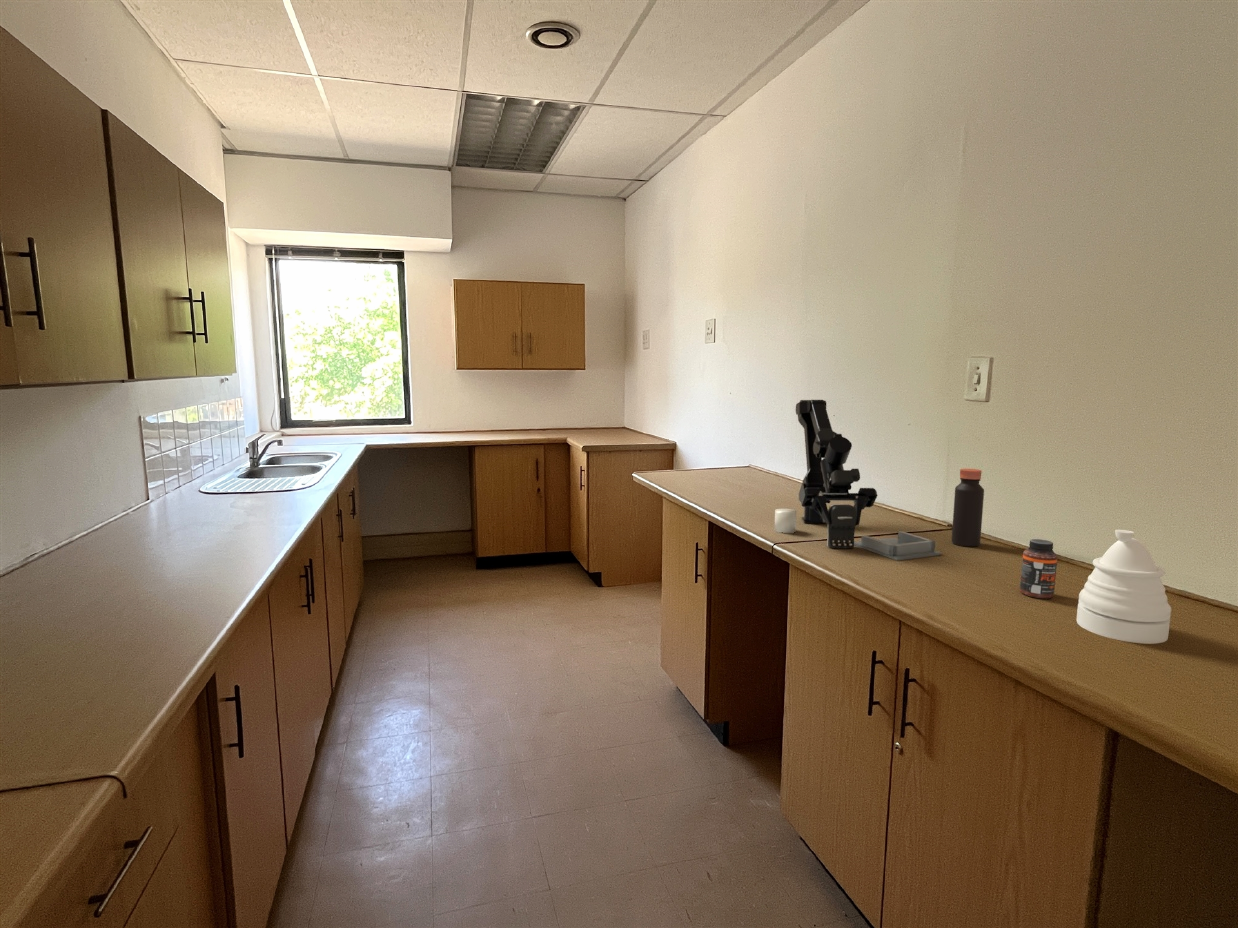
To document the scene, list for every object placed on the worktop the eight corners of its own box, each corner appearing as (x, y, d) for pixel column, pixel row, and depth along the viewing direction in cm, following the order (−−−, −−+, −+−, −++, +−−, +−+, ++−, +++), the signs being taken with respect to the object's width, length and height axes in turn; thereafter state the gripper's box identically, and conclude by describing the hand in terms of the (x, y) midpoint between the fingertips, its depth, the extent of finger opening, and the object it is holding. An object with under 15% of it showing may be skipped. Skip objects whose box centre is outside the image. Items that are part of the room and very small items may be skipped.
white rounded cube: (773, 528, 189) (774, 508, 188) (794, 528, 188) (794, 508, 187) (775, 533, 183) (776, 512, 182) (797, 533, 182) (797, 513, 181)
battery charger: (829, 549, 165) (831, 506, 163) (825, 545, 169) (827, 503, 167) (857, 549, 165) (859, 506, 163) (852, 545, 169) (854, 503, 167)
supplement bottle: (1043, 601, 127) (1048, 546, 125) (1013, 592, 132) (1017, 539, 131) (1060, 596, 130) (1065, 542, 128) (1030, 588, 135) (1034, 536, 133)
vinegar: (982, 548, 166) (988, 472, 163) (953, 546, 168) (958, 471, 165) (977, 541, 172) (982, 468, 169) (949, 539, 174) (954, 467, 171)
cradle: (852, 544, 170) (852, 533, 170) (893, 539, 175) (894, 528, 174) (897, 560, 155) (897, 548, 155) (941, 554, 160) (942, 542, 159)
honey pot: (1140, 649, 105) (1152, 543, 102) (1060, 621, 117) (1069, 526, 114) (1184, 635, 110) (1197, 534, 108) (1103, 611, 122) (1113, 519, 119)
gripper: (804, 457, 168) (813, 507, 159) (876, 457, 167) (889, 507, 158) (797, 482, 177) (805, 530, 168) (865, 482, 176) (877, 530, 166)
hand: (843, 524), depth 165 cm, fingers closed on battery charger, 7 cm apart
